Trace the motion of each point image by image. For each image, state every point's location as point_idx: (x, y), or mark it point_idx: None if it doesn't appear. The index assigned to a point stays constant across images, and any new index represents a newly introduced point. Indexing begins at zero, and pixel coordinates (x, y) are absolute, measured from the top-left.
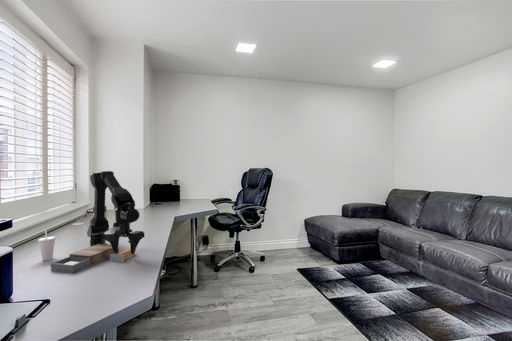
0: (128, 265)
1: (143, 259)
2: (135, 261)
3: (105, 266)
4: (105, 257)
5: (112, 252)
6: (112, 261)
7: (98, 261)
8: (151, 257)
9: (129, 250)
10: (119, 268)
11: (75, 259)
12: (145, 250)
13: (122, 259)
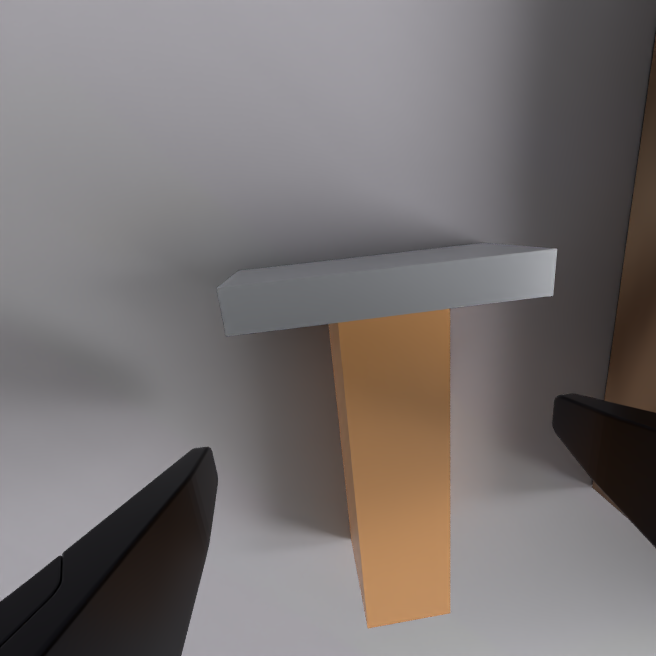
0: (14, 196)
1: (50, 456)
2: (85, 363)
3: (369, 26)
4: (643, 288)
5: None
6: (442, 248)
7: (648, 149)
8: (17, 541)
9: (367, 535)
10: (19, 21)
11: None
12: (337, 653)
13: (241, 275)
